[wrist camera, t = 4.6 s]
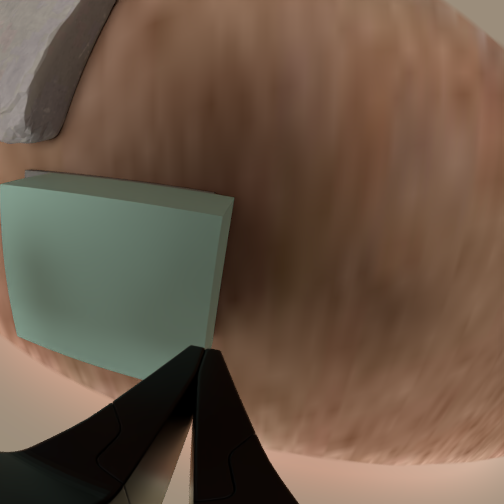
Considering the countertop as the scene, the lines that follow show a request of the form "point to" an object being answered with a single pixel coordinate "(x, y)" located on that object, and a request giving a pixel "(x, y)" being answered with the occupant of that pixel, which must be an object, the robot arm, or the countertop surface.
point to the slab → (113, 267)
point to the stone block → (43, 62)
